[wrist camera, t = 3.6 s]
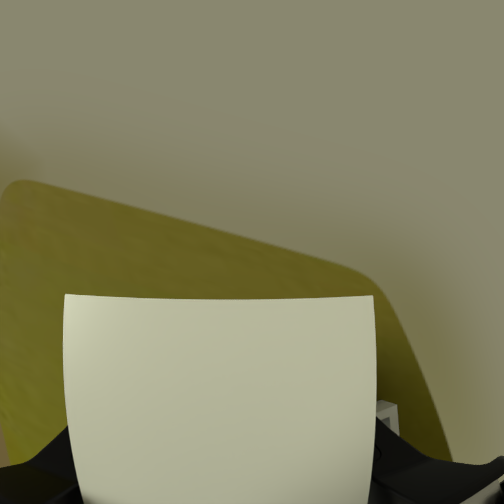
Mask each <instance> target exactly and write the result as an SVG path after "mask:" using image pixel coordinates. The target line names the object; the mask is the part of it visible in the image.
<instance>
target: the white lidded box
mask: <svg viewBox="0 0 504 504" xmlns="http://www.w3.org/2000/svg"><path fill="white" fill-rule="evenodd" d="M63 369H64V389H65V401H66V412H67V421H68V428H69V435H70V442H71V448H72V454H73V459H74V464H75V469H76V474H77V478H78V482H79V486H80V490H81V494H82V498H83V502H84V504H367V503H368V496H369V489H370V481H371V472H372V463H373V452H374V439H375V421H376V336H375V317H374V303H373V296H355V297H334V298H307V299H264V300H193V299H150V298H124V297H103V296H86V295H70V294H65V303H64V322H63Z"/></svg>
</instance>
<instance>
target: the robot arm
mask: <svg viewBox="0 0 504 504" xmlns="http://www.w3.org/2000/svg"><path fill="white" fill-rule="evenodd" d="M503 474H504V456H499V457H497V458H496V459H494V460H493V461H491V462H490V463H488V464H484V465H471V464H464V463H456V462H450V461H444V460H438V459H434V458H430V457H428V456H426V455H424V454H422V453H421V452H419V451H418V450H417V449H415V448H414V447H413V446H411V445H410V444H409V443H407V442H406V441H405V440H404V439H402V438H401V437H400V436H398V435H397V434H396V433H395V432H393V431H392V430H391V429H390V428H389V427H387V426H386V425H385V424H384V423H383V422H382V421H381V420H380V419H379V418H378V417H377V416H376V421H375V439H374V452H373V463H372V472H371V481H370V489H369V496H368V503H367V504H504V480H503V481H502V482H500V483H499V481H498V478H499V477H501V476H502V475H503ZM0 504H84V502H83V498H82V494H81V490H80V486H79V482H78V478H77V474H76V469H75V464H74V459H73V454H72V448H71V442H70V435H69V428H68V425H67V427H66V428H65V429H64V430H63V431H62V432H61V433H60V434H59V435H58V436H57V437H56V438H54V439H53V440H52V441H51V442H50V443H49V444H48V445H47V446H46V447H45V448H43V449H42V450H41V451H40V452H39V453H38V454H37V455H36V456H35V457H33V458H32V459H30V460H29V461H27V462H24V463H21V464H17V465H12V466H7V467H2V468H0Z"/></svg>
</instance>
